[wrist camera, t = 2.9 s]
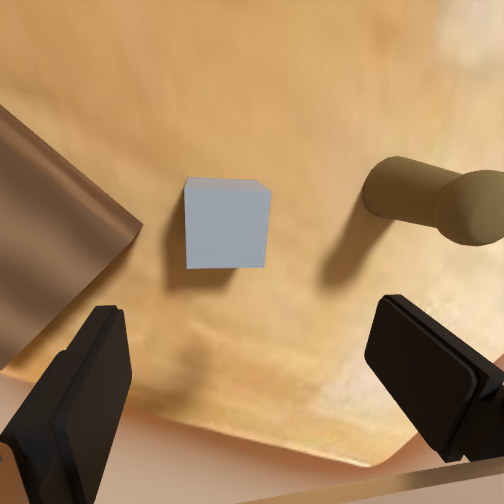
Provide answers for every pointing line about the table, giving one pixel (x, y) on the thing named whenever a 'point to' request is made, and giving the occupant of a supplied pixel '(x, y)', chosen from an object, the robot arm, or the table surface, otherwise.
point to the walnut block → (48, 234)
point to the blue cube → (226, 223)
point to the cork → (439, 199)
